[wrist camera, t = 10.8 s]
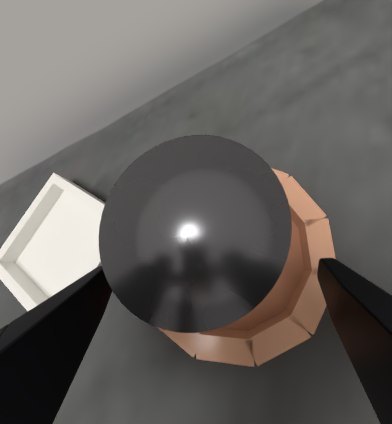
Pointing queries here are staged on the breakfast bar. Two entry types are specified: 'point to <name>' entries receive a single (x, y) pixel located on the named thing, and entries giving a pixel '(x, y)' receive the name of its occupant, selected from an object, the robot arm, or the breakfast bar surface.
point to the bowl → (275, 296)
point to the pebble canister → (195, 234)
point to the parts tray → (52, 242)
